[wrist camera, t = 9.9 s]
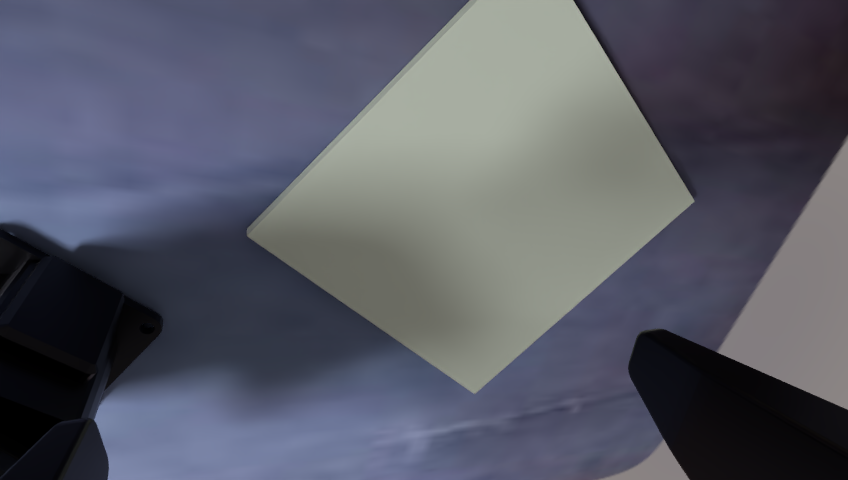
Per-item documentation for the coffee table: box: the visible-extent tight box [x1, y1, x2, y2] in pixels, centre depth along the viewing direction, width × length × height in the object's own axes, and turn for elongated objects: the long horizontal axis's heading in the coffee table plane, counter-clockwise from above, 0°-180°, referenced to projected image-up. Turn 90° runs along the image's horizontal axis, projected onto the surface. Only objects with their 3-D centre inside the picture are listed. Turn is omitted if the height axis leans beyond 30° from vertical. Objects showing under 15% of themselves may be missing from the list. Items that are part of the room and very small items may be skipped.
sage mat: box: [247, 0, 694, 394], centre depth 22 cm, size 14×14×1 cm
